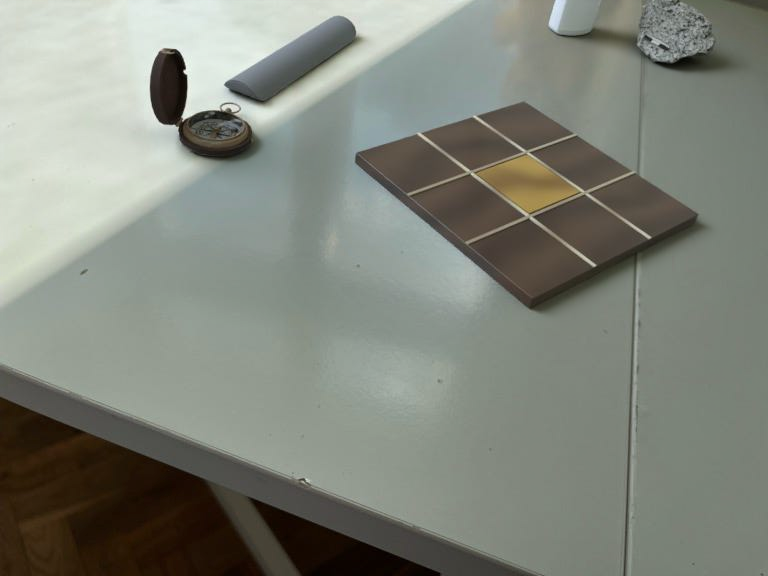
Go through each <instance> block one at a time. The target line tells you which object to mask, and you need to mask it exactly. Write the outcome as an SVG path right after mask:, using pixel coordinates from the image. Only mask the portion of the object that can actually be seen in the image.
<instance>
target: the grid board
mask: <svg viewBox="0 0 768 576" xmlns="http://www.w3.org/2000/svg"><path fill="white" fill-rule="evenodd" d="M354 164H355V165H357V166H358V167H360V168H361V169H362V170H363V171H364V172H366V173H367V174H368V175H369V176H370V177H371V178H372V179H374V180H375V181H376V182H377V183H378V184H380V185H381V186H382V187H383V188H385V189H386V190H387V191H388V192H390V193H391V194H392V195H393V196H394V197H395V198H397V199H398V200H399V201H400V202H401V203H403V204H404V206H406V207H408V209H410V210H411V211H412V212H413V213H414V214H416V215H417V216H418V217H419V218H420V219H422V220H423V222H425V223H427V224H428V225H429V226H430V227H431V228H432V229H433V230H434V231H436V232H437V233H438V234H439V235H441V236H442V237H443V238H444V239H445V240H447V241H448V242H449V243H451V245H452V246H454V247H455V248H456V249H457V250H458V251H460V253H462V254H463V255H465V256H466V257H467V258H468V259H469V260H471V261H472V262H473V263H474V264H475V265H477V267H479V268H480V269H481V270H482V271H483V272H485V273H486V274H487V275H488V276H490V277H491V279H493V280H494V281H496V282H497V283H498V284H499V285H500V286H502V287H503V288H504V289H505V290H506V291H507V292H509V293H510V294H512V296H513V297H515V298H516V299H517V300H518V301H519V302H520V303H522V304H523V305H524V306H525V307H527V308H528V309H531V308H533V307H535V306H537V305H538V304H540V303H542V302H545V301H546V300H548V299H550V298H552V297H554V296H557V295H558V294H560V293H562V292H564V291H566V290H568V289H570V288H572V287H573V286H576V285H577V284H580V283H581V282H583V281H585V280H587V279H589V278H591V277H593V276H595V275H596V274H599V273H601V272H603V271H604V270H607V269H608V268H610V267H612V266H614V265H617V264H618V263H620V262H622V261H624V260H626V259H628V258H630V257H632V256H634V255H635V254H637V253H639V252H641V251H644V250H646V249H648V248H649V247H652V246H653V245H655V244H657V243H659V242H661V241H663V240H665V239H667V238H668V237H670V236H673V235H675V234H676V233H679V232H681V231H682V230H683V229H686V228H688V227H690V226H692V225H694V224H695V223H696V221H697V219H698V217H699V215H700V214H699V212H696V211H695V210H693V209H691V208H690V207H689V206H687V205H685V204H684V203H682V202H681V201H679V200H678V199H676V198H675V197H673V196H672V195H670V194H668V193H667V192H665V191H664V190H662V189H661V188H659V187H657V186H656V185H655V184H653V183H652V182H650V181H648V180H647V179H646V178H644V177H642V176H640V175H639V174H637V172H636V171H635V170H631V169H630V168H628V167H626V166H625V165H624V164H622V163H621V162H619V161H617V160H616V159H614V158H613V157H611V156H609V155H608V154H606V153H605V152H603V151H602V150H601V149H599V148H597V147H596V146H594V145H593V144H591V143H589V142H588V141H586V140H585V139H583V138H581V137H580V136H579V134H577V133H574V132H572V131H571V130H569V129H568V128H566V127H564V126H563V125H561V124H560V123H558V122H557V121H555V120H554V119H552V118H551V117H549V116H547V114H545V113H543V112H541V111H540V110H538V109H537V108H535V107H534V106H532V105H530V104H529V103H527V102H526V101H520V102H517V103H513V104H510V105H507V106H505V107H501V108H498V109H494V110H491V111H487V112H484V113H481V114H478V115H472V116H471V117H468V118H464V119H462V120H459V121H455V122H452V123H449V124H445V125H442V126H439V127H436V128H432V129H429V130H425V131H423V132H416V133H415V134H412V135H409V136H406V137H402V138H400V139H396V140H393V141H390V142H386V143H384V144H380V145H377V146H373V147H370V148H367V149H363V150H361V151H360V150H359V151H357V152H356V153H355V159H354Z"/></svg>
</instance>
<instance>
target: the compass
mask: <svg viewBox="0 0 768 576" xmlns="http://www.w3.org/2000/svg"><path fill="white" fill-rule="evenodd" d="M184 71H187V66H186V62H185V59H184V57H183V55H182V53H181V51H179V50H178V49H177V48H168V47H163V48H162V49H160V50H159V51H158V53H157V55H156V56H155V58H154V60H153V62H152V66H151V71H150V76H149V99H150V104H151V108H152V111H153V114H154V116H155V118H156V119H157V121H158V123H160V124H162V125H165V126H175V127H176V128H178V129H177V132H178V137H179V141H180V143H181V144H182V145H183V146H184V147H185V148H187V149H188V150H190V151H192V152H194V153H196V154H198V155H203V156H206V157H207V156H208V157H220V158H221V157H228V156H229V157H230V156H234V155H237V154H240V153H241V152H243V151H245V150H247V149H248V147H249V146H250V145H252V143H253V142H254V139H253V136H254V133H253V129H252V126H251V125H250V124H249V122H247V121H246V120H245V119H243V118H241V117H240V116H238V115H236V114H238V113H240V111H241V109H242V107H241V106H240V104H238V103H235V102H230V101H229V102H228V101H227V102H223V103H221V104H220V105H219V109H218V110H217V109H211V110H210V109H209V110H203V111H198V112H196V113H194V114H193V115H190V116H189V117H186V118H185V119H184V118H183V115H184V113H185V109H186V105H187V100H188V87H189V85H188V84H189V83H188V81H189V79H188V74H187V73H185V72H184ZM225 105H233V106H237V107H238V109H237V110H236V111H232V109H231V107H226V109H225V110H224V109H223V108H222V107H223V106H225Z"/></svg>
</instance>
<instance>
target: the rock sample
mask: <svg viewBox="0 0 768 576" xmlns="http://www.w3.org/2000/svg"><path fill="white" fill-rule="evenodd" d="M641 8H643V11H642V13H641V16H640V19H639V23H638V28H639V31H638V33H637V38H636V40H637V42H636V46H637V48H638V49H639V50H641V51H642V52H643V53H644V55H646V56H647V57H648V58H650V60H651V61H652V62H654V63H657V62H660V63H664V64H671V65H672V64H674V63H676V62H678V61H680V60H682V59H684V58H691V57H703V56H704V57H708V56H709V55H710V54H712V53H713V51H714V47H715V44H716V41H717V37H715V35H714V34H712V30H713V28H712V25H713V23H712V22H711V21H710V20H709V19H708V18H707V16H705V15H704V14H702V13H701V12H700V11H699V10H697V8H695V7H693V6H691V5H690V4H686V3H685V2H683V1H680V0H649V3H646V4H644V5H642V7H641Z"/></svg>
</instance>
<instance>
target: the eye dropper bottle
mask: <svg viewBox="0 0 768 576" xmlns="http://www.w3.org/2000/svg"><path fill="white" fill-rule="evenodd" d="M601 4H602V0H554V4H553V7H552V11H551V14H550V17H549V21H548V27H549V30H551V31H553V32H554V33H556V34H557V35H561V36H573V37H574V36H582V35H586V34H588V33H591V31H592V30H593V28H594V26H595V23H596V19H597V16H598V13H599V11H600V10H599V9H600V7H601Z"/></svg>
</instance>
